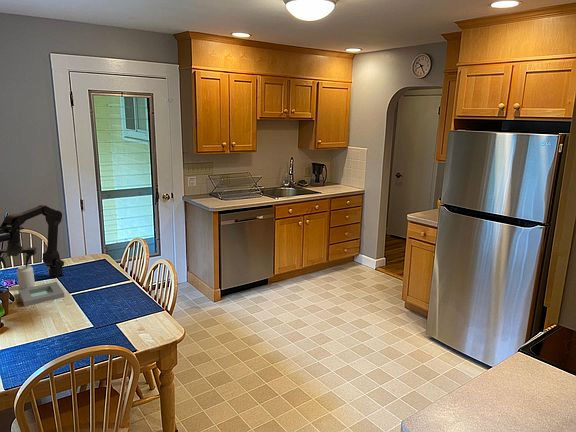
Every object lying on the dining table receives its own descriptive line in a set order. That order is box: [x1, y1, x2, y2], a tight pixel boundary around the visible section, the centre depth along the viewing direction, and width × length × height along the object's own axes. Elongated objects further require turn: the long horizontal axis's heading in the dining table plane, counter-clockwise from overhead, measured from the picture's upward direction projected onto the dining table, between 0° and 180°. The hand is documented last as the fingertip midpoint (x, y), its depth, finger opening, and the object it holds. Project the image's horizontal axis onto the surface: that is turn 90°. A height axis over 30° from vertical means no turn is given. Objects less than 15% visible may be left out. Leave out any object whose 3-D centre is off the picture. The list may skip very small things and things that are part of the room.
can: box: [16, 264, 36, 289], centre depth 227 cm, size 8×8×12 cm
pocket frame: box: [18, 281, 65, 307], centre depth 218 cm, size 18×18×2 cm
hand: (16, 267), depth 219 cm, fingers open, 9 cm apart
